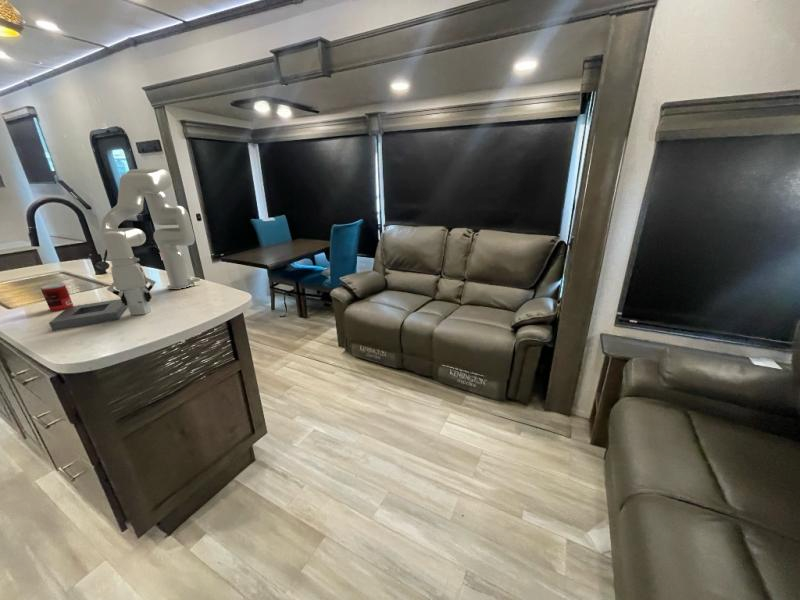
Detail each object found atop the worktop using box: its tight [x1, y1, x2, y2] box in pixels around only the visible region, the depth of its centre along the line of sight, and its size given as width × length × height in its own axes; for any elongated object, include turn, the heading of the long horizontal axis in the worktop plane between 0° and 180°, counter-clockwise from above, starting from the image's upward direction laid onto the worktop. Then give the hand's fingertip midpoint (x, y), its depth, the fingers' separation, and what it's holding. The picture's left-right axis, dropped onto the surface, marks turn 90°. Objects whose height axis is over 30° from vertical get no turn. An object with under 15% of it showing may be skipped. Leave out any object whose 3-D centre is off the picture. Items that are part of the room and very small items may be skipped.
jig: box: [48, 298, 129, 332], centre depth 133 cm, size 20×20×4 cm
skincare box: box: [124, 287, 151, 316], centre depth 134 cm, size 6×4×12 cm
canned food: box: [40, 282, 74, 312], centre depth 144 cm, size 8×8×11 cm
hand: (137, 302), depth 135 cm, fingers closed on skincare box, 7 cm apart
